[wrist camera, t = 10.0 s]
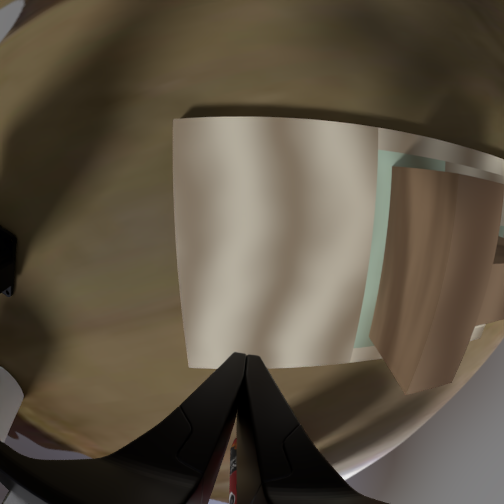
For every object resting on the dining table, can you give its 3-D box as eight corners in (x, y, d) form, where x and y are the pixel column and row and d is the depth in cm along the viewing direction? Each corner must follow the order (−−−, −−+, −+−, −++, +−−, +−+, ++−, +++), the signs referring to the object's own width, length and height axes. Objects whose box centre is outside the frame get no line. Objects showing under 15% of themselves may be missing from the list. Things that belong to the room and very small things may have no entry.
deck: (191, 358, 22) (189, 367, 21) (177, 121, 17) (173, 119, 16) (474, 332, 23) (480, 338, 22) (507, 162, 18) (515, 163, 17)
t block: (368, 336, 21) (405, 395, 14) (391, 166, 17) (458, 173, 10) (477, 319, 21) (519, 356, 15) (504, 187, 18) (561, 201, 11)
